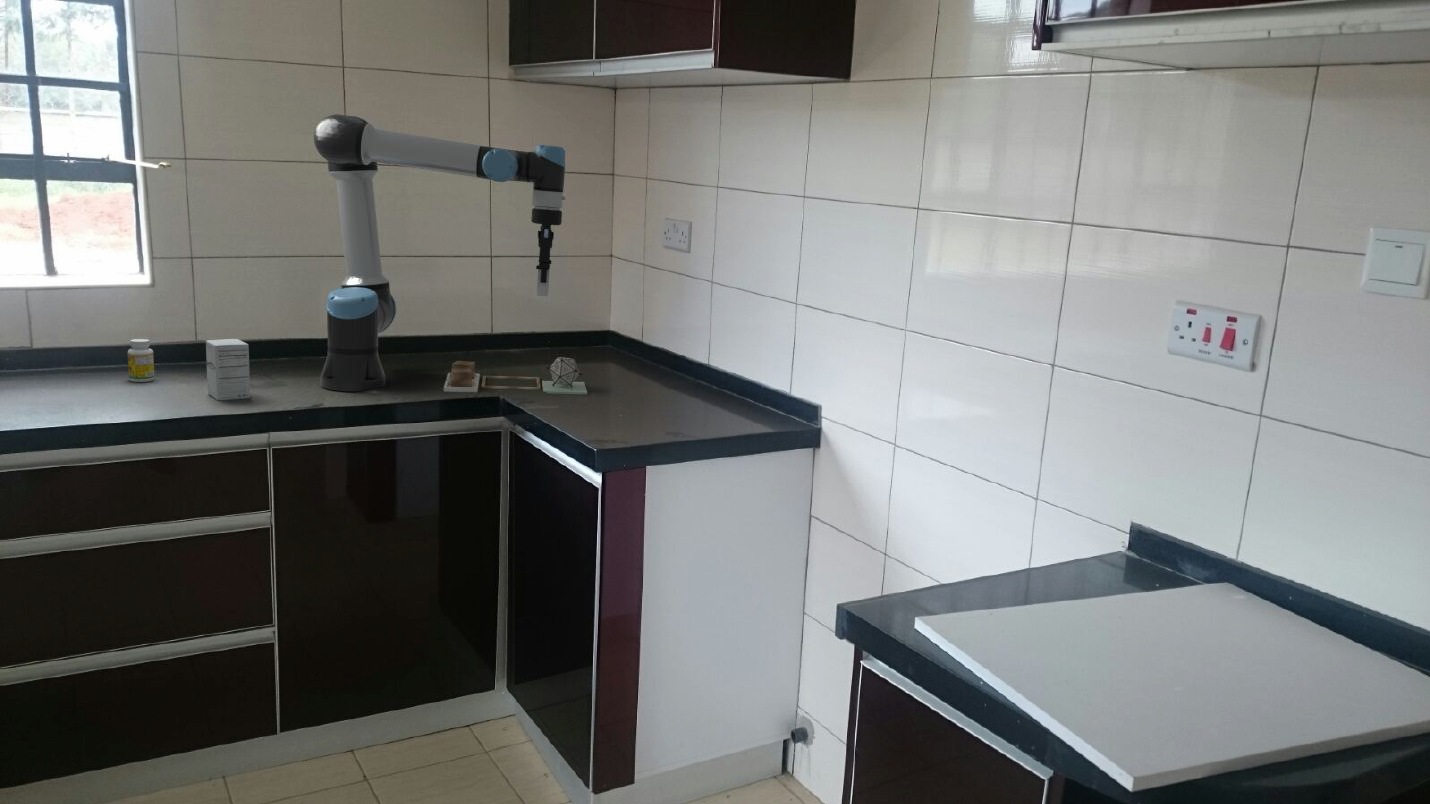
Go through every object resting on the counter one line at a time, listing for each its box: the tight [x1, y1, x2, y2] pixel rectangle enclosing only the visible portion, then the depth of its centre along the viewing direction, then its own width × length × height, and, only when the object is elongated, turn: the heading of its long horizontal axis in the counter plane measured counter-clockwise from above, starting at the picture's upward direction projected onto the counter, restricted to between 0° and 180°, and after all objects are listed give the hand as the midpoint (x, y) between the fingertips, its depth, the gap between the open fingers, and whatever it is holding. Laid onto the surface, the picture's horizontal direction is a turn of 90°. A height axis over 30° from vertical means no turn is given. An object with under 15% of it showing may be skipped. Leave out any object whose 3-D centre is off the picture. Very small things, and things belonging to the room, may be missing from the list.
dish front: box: [443, 380, 480, 393], centre depth 264 cm, size 8×8×2 cm
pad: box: [541, 380, 588, 396], centre depth 274 cm, size 11×13×1 cm
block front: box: [450, 368, 472, 387], centre depth 263 cm, size 4×4×4 cm
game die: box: [545, 353, 584, 388], centre depth 273 cm, size 9×8×10 cm
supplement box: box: [205, 338, 251, 401], centre depth 241 cm, size 7×7×13 cm
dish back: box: [445, 372, 481, 383], centre depth 273 cm, size 8×8×2 cm
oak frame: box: [480, 375, 542, 391], centre depth 273 cm, size 15×14×1 cm
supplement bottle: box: [127, 338, 155, 383], centre depth 251 cm, size 5×5×10 cm
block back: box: [451, 360, 476, 379], centre depth 273 cm, size 4×4×4 cm
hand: (542, 292), depth 272 cm, fingers open, 13 cm apart
